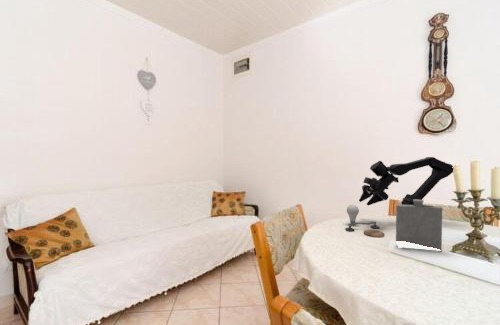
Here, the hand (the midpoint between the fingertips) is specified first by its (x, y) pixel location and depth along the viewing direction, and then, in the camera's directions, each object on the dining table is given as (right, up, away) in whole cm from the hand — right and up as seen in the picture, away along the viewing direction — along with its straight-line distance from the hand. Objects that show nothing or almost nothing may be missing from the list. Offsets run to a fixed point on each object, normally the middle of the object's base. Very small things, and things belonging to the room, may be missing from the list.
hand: (363, 203), depth 134 cm
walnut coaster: (-2, -13, -15) cm, 20 cm away
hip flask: (+7, -13, -32) cm, 36 cm away
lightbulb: (-6, -12, +1) cm, 13 cm away
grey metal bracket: (-4, -12, -7) cm, 15 cm away
